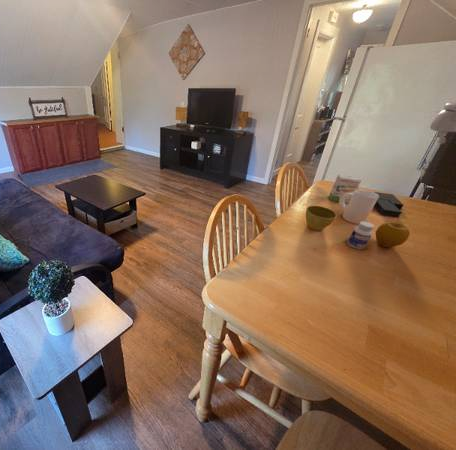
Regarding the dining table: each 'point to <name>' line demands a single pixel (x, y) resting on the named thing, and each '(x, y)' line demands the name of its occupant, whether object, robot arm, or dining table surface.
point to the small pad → (387, 208)
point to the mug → (358, 205)
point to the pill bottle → (361, 235)
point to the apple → (391, 234)
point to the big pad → (390, 199)
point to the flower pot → (319, 217)
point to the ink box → (344, 187)
